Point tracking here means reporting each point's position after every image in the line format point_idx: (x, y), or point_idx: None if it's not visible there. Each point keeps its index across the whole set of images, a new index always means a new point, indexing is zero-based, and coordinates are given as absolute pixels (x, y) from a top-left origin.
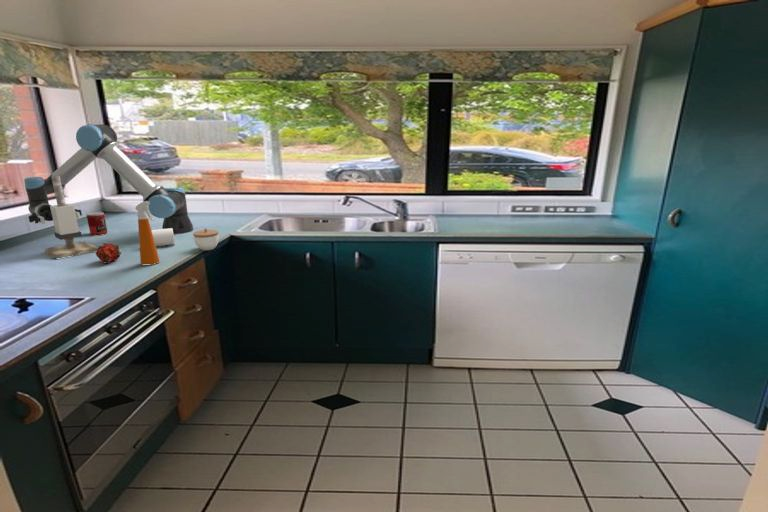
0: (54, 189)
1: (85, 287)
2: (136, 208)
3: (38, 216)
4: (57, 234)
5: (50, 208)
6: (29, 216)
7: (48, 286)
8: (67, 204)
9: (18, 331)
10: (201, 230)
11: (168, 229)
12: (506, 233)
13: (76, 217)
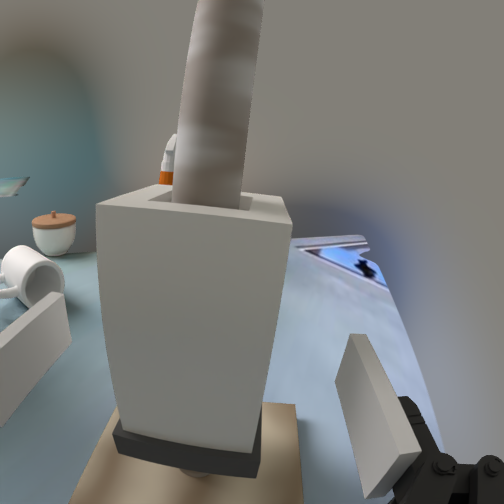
0: (258, 44)
1: (294, 263)
2: (173, 150)
3: (403, 412)
4: (261, 406)
5: (287, 257)
6: (496, 461)
7: (338, 286)
8: (138, 197)
9: (361, 246)
10: (40, 222)
11: (25, 247)
12: (12, 186)
13: (41, 374)
